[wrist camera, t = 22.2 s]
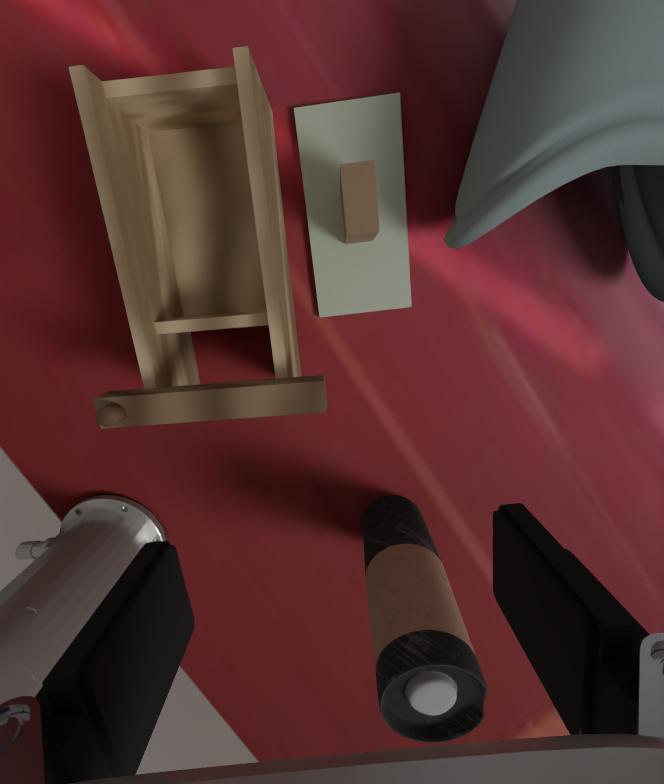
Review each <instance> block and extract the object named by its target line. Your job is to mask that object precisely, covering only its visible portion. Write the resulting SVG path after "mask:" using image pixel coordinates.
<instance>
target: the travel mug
mask: <svg viewBox="0 0 664 784" xmlns="http://www.w3.org/2000/svg"><path fill="white" fill-rule="evenodd" d="M363 539H364V557H365V576H366V587H367V596H368V605H369V615H370V624H371V634H372V643H373V652H374V662H375V671H376V681H377V690H378V700H379V706H380V711H381V714H382V717H383V718H384V720H385V722H386V723H387V724H388V726H389V727H390V728H391V729H392V730H394V731H395V732H396V733H398V734H400V735H401V736H403V737H406V738H408V739H411V740H415V741H420V742H429V743H436V742H445V741H450V740H453V739H456V738H459V737H462V736H464V735H466V734H468V733H469V732H471V731H472V730H474V729H475V728H476V727H477V726H478V725H479V724H480V723H481V722H482V720H483V718H484V704H485V698H486V694H487V692H489V690H488V687H487V685H486V682H485V680H484V678H483V675H482V672H481V669H480V666H479V664H478V661H477V658H476V656H475V653H474V650H473V647H472V644H471V642H470V639H469V636H468V633H467V631H466V628H465V625H464V622H463V620H462V617H461V614H460V611H459V608H458V606H457V603H456V600H455V597H454V595H453V592H452V589H451V586H450V584H449V581H448V578H447V575H446V573H445V570H444V567H443V565H442V562H441V560H440V557H439V555H438V553H437V550H436V548H435V545H434V543H433V541H432V538H431V536H430V534H429V531H428V529H427V526H426V524H425V522H424V519H423V517H422V515H421V513H420V511H419V509H418V508H417V506H416V505H415V504H414V503H412V502H411V501H410V500H408V499H406V498H403V497H399V496H388V497H383V498H381V499H378V500H377V501H375V502H374V503H372V504H371V505H370V506H369V507H368V509H367V510H366V512H365V514H364V518H363Z"/></svg>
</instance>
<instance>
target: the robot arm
mask: <svg viewBox="0 0 664 784" xmlns="http://www.w3.org/2000/svg"><path fill="white" fill-rule="evenodd" d="M16 557H17V558H18V559H36V560H34V561H33V562H32V563H31V564H30V565H29V566H28V567H27V568H26V569H24V570H23V571H22V572H21V573H20V574H19V575H18V576H17V577H16V578H15V579H13V580H12V581H11V582H10V583H9V584H8V585H7V586H6V587H5V588H3V589H2V590H1V591H0V784H664V633H657V634H652V635H650V634H649V633H648V632H647V631H646V630H645V629H644V628H643V627H642V626H641V625H640V624H639V623H638V622H637V621H636V620H635V619H634V618H633V617H632V615H631V614H630V613H629V612H628V611H627V610H626V609H625V608H624V607H623V606H622V605H621V604H620V603H619V602H618V601H617V600H616V599H615V598H614V597H613V595H612V594H611V593H610V592H609V591H608V590H607V589H606V588H605V587H604V586H603V585H602V584H601V583H600V582H599V581H598V580H597V579H596V578H595V577H594V575H593V574H592V573H591V572H590V571H589V570H588V569H587V568H586V567H585V566H584V565H583V564H582V563H581V562H580V561H579V560H578V559H577V558H576V557H575V555H574V554H572V553H571V552H570V551H569V550H567V549H564V548H563V547H562V546H561V545H560V544H559V543H558V541H557V540H556V539H555V538H554V537H553V536H552V535H551V534H550V533H549V532H548V531H547V530H546V529H545V528H544V527H543V525H542V524H541V523H540V522H539V521H538V520H537V519H536V518H535V517H534V516H533V515H532V514H531V513H530V512H529V510H528V509H527V508H526V507H525V506H524V505H523V504H521V503H516V504H507V505H500V506H499V508H498V511H494V513H493V591H494V595H495V598H496V601H497V603H498V605H499V606H500V608H501V610H502V612H503V614H504V615H505V617H506V619H507V621H508V623H509V625H510V626H511V628H512V630H513V632H514V634H515V635H516V637H517V639H518V641H519V643H520V644H521V646H522V648H523V650H524V652H525V653H526V655H527V657H528V659H529V661H530V663H531V664H532V666H533V668H534V670H535V672H536V673H537V675H538V677H539V679H540V681H541V682H542V684H543V686H544V688H545V690H546V691H547V693H548V695H549V697H550V699H551V701H552V702H553V704H554V706H555V708H556V710H557V711H558V713H559V715H560V717H561V719H562V720H563V722H564V724H565V726H566V728H567V729H568V731H569V733H570V734H571V735H568V736H553V737H538V738H522V739H508V740H497V741H485V742H474V743H462V744H451V745H439V746H428V747H416V748H405V749H394V750H383V751H372V752H361V753H351V754H340V755H329V756H319V757H308V758H298V759H287V760H277V761H266V762H256V763H247V764H236V765H226V766H216V767H206V768H197V769H187V770H177V771H167V772H158V773H147V774H140V775H135V774H136V772H137V770H138V767H139V765H140V762H141V760H142V757H143V755H144V752H145V750H146V747H147V745H148V742H149V740H150V737H151V735H152V732H153V730H154V727H155V725H156V722H157V720H158V717H159V715H160V712H161V710H162V708H163V705H164V702H165V700H166V697H167V695H168V692H169V690H170V688H171V685H172V682H173V680H174V677H175V675H176V673H177V670H178V668H179V665H180V663H181V660H182V658H183V655H184V653H185V650H186V648H187V645H188V643H189V640H190V638H191V635H192V633H193V629H194V616H193V612H192V608H191V604H190V601H189V597H188V593H187V589H186V585H185V581H184V578H183V574H182V570H181V566H180V562H179V559H178V555H177V551H176V548H175V546H174V545H170V543H169V542H168V541H167V540H166V535H165V533H164V530H163V528H162V526H161V524H160V523H159V521H158V520H157V518H156V517H155V516H154V515H153V514H152V513H151V512H150V511H149V510H147V509H146V508H145V507H143V506H142V505H140V504H138V503H136V502H135V501H133V500H130V499H127V498H124V497H120V496H114V495H100V496H93V497H91V498H88V499H85V500H83V501H82V502H80V503H78V504H77V505H76V506H75V507H74V508H72V509H71V510H70V511H69V512H68V513H67V515H66V516H65V517H64V519H63V522H62V524H61V528H60V533H59V534H58V535H57V536H56V537H55V538H49V539H47V540H46V541H43V542H41V541H29V542H22V543H21V544H20V545H19V546H18V547H17V549H16Z"/></svg>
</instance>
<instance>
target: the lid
mask: <svg viewBox="0 0 664 784" xmlns="http://www.w3.org/2000/svg"><path fill="white" fill-rule="evenodd" d="M294 113H295V122H296V130H297V138H298V146H299V154H300V162H301V171H302V179H303V187H304V195H305V203H306V211H307V219H308V228H309V236H310V244H311V252H312V260H313V268H314V276H315V285H316V293H317V301H318V309H319V317H328V316H336V315H345V314H353V313H362V312H371V311H379V310H388V309H396V308H405V307H411V289H410V270H409V251H408V233H407V214H406V196H405V177H404V158H403V140H402V121H401V103H400V93H393V94H386V95H379V96H373V97H366V98H359V99H352V100H345V101H338V102H331V103H324V104H318V105H311V106H304V107H297V108H294Z"/></svg>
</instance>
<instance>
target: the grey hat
mask: <svg viewBox="0 0 664 784" xmlns="http://www.w3.org/2000/svg"><path fill="white" fill-rule="evenodd" d="M616 165H619V169H620V176H621V182H622V189H623V196H624V204H625V208H624V206H623V204H622V202H621V200H620V198H619V196H618V191H617V182H616V173H615V166H616ZM610 166H614V173H615V184H616V194H617V201H618V207H619V213H620V218H621V223H622V227H623V232H624V235H625V239H626V243H627V246H628V250H629V253H630V256H631V259H632V262H633V264H634V266H635V269H636V271H637V273H638V275H639V277H640V279H641V281H642V283H643V285H644V286H645V287H646V289H647V290H648V291H649V292H650V293H651V294H652V295H653V296H654V297H655V298H657V299H658V300H660V301H663V302H664V0H517V2H516V5H515V8H514V11H513V15H512V18H511V21H510V24H509V28H508V31H507V34H506V37H505V41H504V44H503V47H502V50H501V54H500V57H499V60H498V63H497V66H496V70H495V73H494V76H493V79H492V82H491V85H490V89H489V92H488V95H487V98H486V101H485V104H484V108H483V111H482V114H481V117H480V121H479V124H478V127H477V130H476V133H475V137H474V140H473V143H472V147H471V150H470V153H469V157H468V160H467V164H466V167H465V171H464V174H463V178H462V182H461V185H460V188H459V192H458V196H457V200H456V205H455V215H456V217H457V218H456V219H455V220H454V222H453V223H452V224H451V226H450V227H449V229H448V232H447V234H446V236H445V239H444V241H445V243H446V245H447V246H448V247H451V248H454V249H460V248H462V247H464V246H466V245H468V244H469V243H471V242H473V241H475V240H476V239H478V238H479V237H481V236H482V235H484V234H485V233H487V232H489V231H490V230H492V229H493V228H495V227H496V226H498V225H499V224H501V223H502V222H504V221H505V220H507V219H508V218H510V217H511V216H513V215H514V214H516V213H517V212H519V211H520V210H522V209H523V208H525V207H526V206H528V205H530V204H531V203H533V202H534V201H536V200H538V199H539V198H541V197H543V196H544V195H546V194H548V193H549V192H551V191H553V190H555V189H556V188H558V187H560V186H562V185H564V184H566V183H568V182H570V181H572V180H574V179H576V178H578V177H580V176H583V175H585V174H587V173H589V172H592V171H595V170H598V169H601V168H604V167H610Z"/></svg>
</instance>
